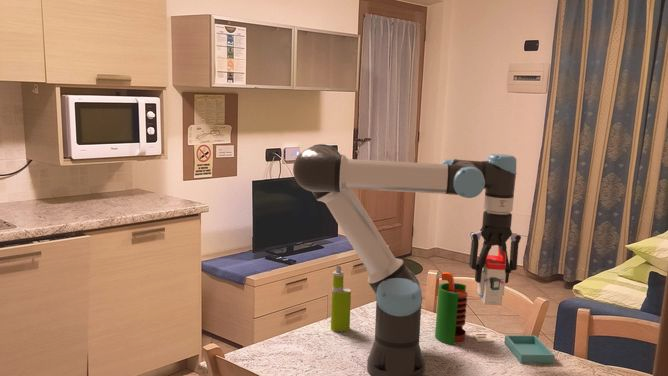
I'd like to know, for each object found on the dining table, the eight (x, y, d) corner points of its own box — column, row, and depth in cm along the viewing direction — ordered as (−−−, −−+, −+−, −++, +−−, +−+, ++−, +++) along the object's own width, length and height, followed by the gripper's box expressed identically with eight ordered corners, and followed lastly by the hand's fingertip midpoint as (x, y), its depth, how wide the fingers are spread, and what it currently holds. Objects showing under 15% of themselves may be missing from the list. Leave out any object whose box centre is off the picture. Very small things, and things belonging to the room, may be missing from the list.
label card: (477, 341, 172) (477, 340, 172) (471, 333, 178) (471, 332, 178) (493, 341, 172) (493, 340, 172) (487, 333, 178) (487, 332, 178)
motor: (465, 346, 169) (469, 280, 166) (434, 342, 171) (438, 277, 167) (464, 332, 179) (468, 270, 176) (435, 329, 180) (439, 267, 177)
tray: (520, 363, 159) (521, 354, 158) (504, 343, 172) (504, 335, 171) (553, 363, 159) (554, 354, 159) (534, 343, 172) (535, 335, 172)
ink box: (477, 294, 165) (482, 244, 162) (495, 295, 164) (499, 245, 162) (484, 305, 156) (488, 252, 154) (502, 306, 156) (507, 253, 154)
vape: (330, 326, 180) (331, 264, 177) (349, 326, 181) (351, 265, 177) (330, 331, 177) (332, 268, 174) (350, 331, 177) (352, 268, 174)
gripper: (468, 213, 152) (461, 297, 156) (536, 215, 153) (527, 299, 157) (460, 207, 159) (454, 288, 163) (525, 209, 161) (517, 290, 164)
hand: (490, 293), depth 160 cm, fingers closed on ink box, 5 cm apart
